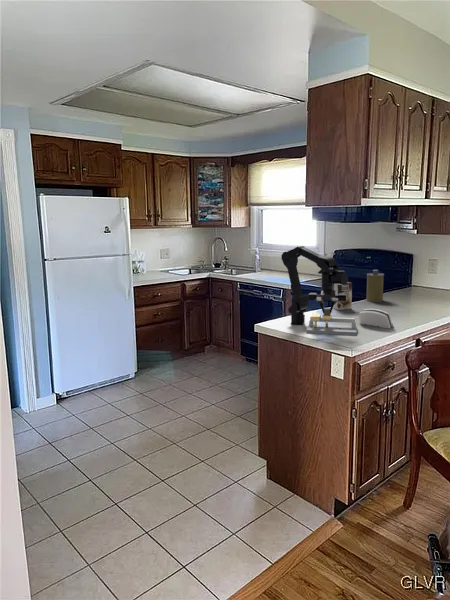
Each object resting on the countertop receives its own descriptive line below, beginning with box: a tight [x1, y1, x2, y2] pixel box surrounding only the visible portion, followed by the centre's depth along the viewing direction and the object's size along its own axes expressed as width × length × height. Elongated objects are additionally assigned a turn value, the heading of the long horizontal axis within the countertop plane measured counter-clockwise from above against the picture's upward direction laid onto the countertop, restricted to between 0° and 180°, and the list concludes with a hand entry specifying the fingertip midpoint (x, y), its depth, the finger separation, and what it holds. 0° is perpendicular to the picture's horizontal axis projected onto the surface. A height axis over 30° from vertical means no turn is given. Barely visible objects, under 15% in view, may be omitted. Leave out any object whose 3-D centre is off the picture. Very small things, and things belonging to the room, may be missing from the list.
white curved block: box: [358, 308, 394, 329], centre depth 233 cm, size 17×5×10 cm, turn 46°
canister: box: [365, 269, 385, 303], centre depth 292 cm, size 11×10×20 cm
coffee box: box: [333, 281, 353, 311], centre depth 273 cm, size 9×6×16 cm
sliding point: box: [321, 307, 333, 327], centre depth 228 cm, size 4×6×9 cm, turn 163°
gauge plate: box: [305, 313, 358, 336], centre depth 226 cm, size 24×12×8 cm, turn 73°
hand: (327, 313), depth 227 cm, fingers closed on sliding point, 3 cm apart
